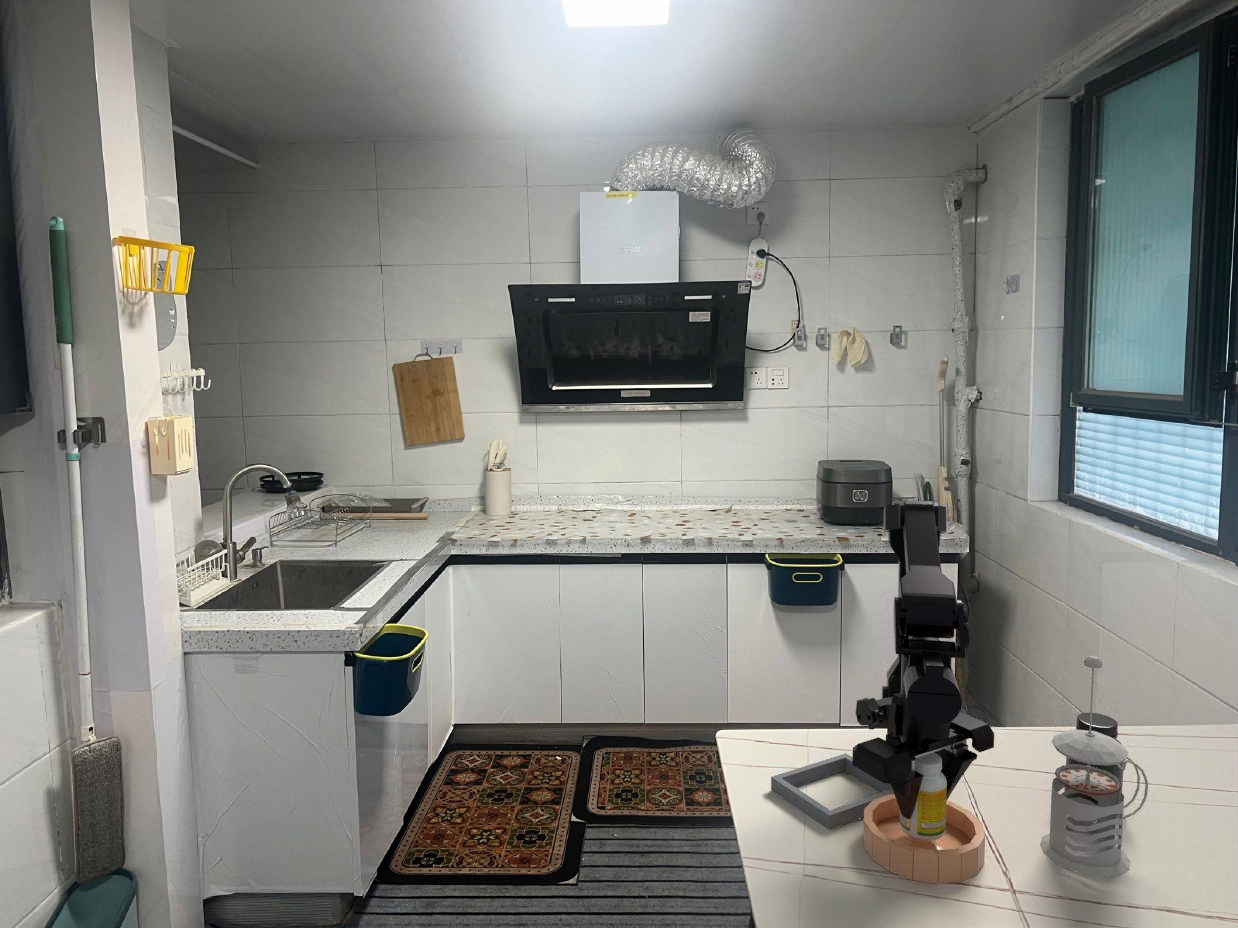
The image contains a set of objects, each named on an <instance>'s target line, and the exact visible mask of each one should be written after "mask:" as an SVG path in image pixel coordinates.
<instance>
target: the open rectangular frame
mask: <svg viewBox="0 0 1238 928" xmlns="http://www.w3.org/2000/svg"><path fill="white" fill-rule="evenodd" d="M852 758H853V756H851V755H850V754H847V753H846V752H845V753H842V754H839V755H836V756H833V757H830V758H827V759H823V760H820V761H817V762H814V763H811V764H810V763H809V764H808V765H805V766H801V767H798V768H794V769H792V770H788V771H786V772H783V773H778V774H776V775H773V776H770V791H771V792H772V793H775V794H776V795H778V796H779V797H780V796H781V799H783V800H785V801H786V802H788V803H789V804H791V805H792V806H793V807H795V808H796V809H798V810H799V811H801V812H803V814H805V815H807V816H808V817H810V818H811V819H812V820H814V821H816V823H818V824H819V825H821V826H823V827H824V828H826V829H827V830H829V831H831V830H833V829H836V828H840V827H842V826H844V824H845V825H847V824H849V823H852V822H851V821H853V822H855V820H856V821H858V820H860V819H859V818H861V819H864V818H863V817H864V809H865V808H866V807H867V806H868V805H869V804H870V803H871V802H872V801H873V800H875V799H878V798H880V797H883V796H886V795H890V794H894V792H893V789H892V786H891V784H887V783H883V782H881V781H879V780H877V779H876V778H874V777H872V776H870V775H869V774H867V773H865V772H863V771H862V770H860V769H858V768H856V767H855V766H853V765H852ZM841 772H847V773H848V774H851V775H852V776H853V777H856V778H857V779H859V780H861V781H862V782H864V783H865V784H868V785H869V786H870V787H873V788H874V789H876V790H878V791H879V792H877V793H875V794H872V795H869V796H867V797H864V798H860V799H858V800H855V801H852V802H849V803H846V804H843V805H841V806H837V807H834V808H831V809H829V808H827V807H826V806H825V805H823V804H822V803H820V802H819V801H817V800H816V799H815V798H812V797H811V796H809V795H807V794H806V793H805V792H804V791H802V790H800V789H799V788H797V787H799V786H802V785H806V784H808V783H811V782H814V781H817V780H820V779H822V778H827V777H829V776H833V775H835V774H838V773H839V774H840V773H841ZM795 786H796V787H795Z"/></svg>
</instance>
